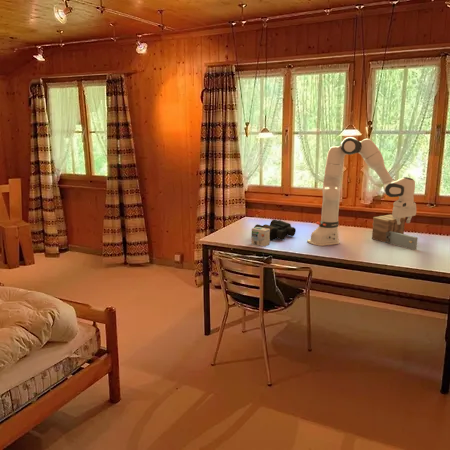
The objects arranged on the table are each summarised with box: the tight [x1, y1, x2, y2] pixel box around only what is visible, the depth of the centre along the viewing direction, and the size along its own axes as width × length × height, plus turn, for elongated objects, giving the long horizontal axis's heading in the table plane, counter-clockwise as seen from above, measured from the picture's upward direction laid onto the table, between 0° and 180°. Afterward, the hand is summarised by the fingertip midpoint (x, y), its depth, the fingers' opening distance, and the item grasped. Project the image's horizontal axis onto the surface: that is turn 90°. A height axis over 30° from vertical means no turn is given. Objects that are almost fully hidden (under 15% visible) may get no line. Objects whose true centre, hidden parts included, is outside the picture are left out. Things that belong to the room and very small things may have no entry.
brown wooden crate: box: [371, 213, 406, 243], centre depth 306 cm, size 20×15×15 cm
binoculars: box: [253, 219, 296, 241], centre depth 315 cm, size 29×20×10 cm
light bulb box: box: [250, 226, 270, 247], centre depth 295 cm, size 11×7×11 cm, turn 56°
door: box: [387, 231, 418, 251], centre depth 290 cm, size 20×4×8 cm, turn 32°
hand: (403, 223), depth 287 cm, fingers open, 8 cm apart
